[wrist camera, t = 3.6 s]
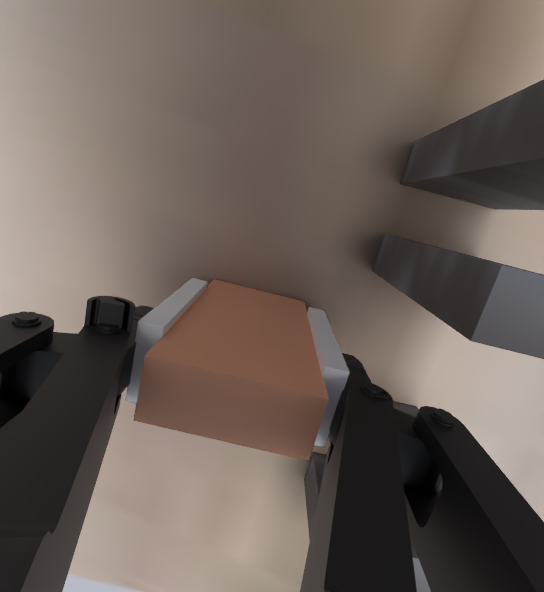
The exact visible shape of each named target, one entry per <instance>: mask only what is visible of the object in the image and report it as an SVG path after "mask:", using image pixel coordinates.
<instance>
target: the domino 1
mask: <svg viewBox="0 0 544 592" xmlns="http://www.w3.org/2000/svg"><path fill="white" fill-rule="evenodd" d="M328 400H329V398H328V394H327V390H326V386H325V382H324V378H323V377H322V374H321V370H320V365H319V361H318V357H317V353H316V349H315V345H314V341H313V337H312V332H311V328H310V324H309V320H308V316H307V310H306V306H305V302H304V301H300V300H296V299H292V298H288V297H284V296H280V295H276V294H272V293H268V292H264V291H260V290H256V289H252V288H248V287H244V286H240V285H236V284H232V283H228V282H224V281H220V280H216V279H214V280H213V281H212V282H211V283H210V284H209V285H208V286H207V288H206V289H205V291H204V292H203V293H202V294H201V295H200V296H199V297H198V298H197V299H196V300H195V302H194V303H193V304H192V305H191V306H190V307H189V308H188V309H187V310H186V312H185V313H184V314H183V315H182V316H181V317H180V318H179V319H178V320H177V322H176V323H175V324H174V325H173V326H172V327H171V328H170V329H169V330H168V331H167V333H166V334H165V335H164V336H163V337H162V338H160V339H159V340H158V341H157V342H156V344H155V345H154V346H153V347H152V348H151V349H150V350H149V351H148V352H147V353H146V355H145V357H144V363H143V369H142V375H141V381H140V386H139V392H138V398H137V404H136V409H135V415H134V421H138V422H143V423H147V424H151V425H156V426H160V427H164V428H169V429H173V430H177V431H182V432H186V433H190V434H195V435H199V436H203V437H208V438H212V439H216V440H221V441H225V442H229V443H234V444H238V445H242V446H247V447H251V448H255V449H260V450H264V451H268V452H273V453H277V454H281V455H286V456H290V457H294V458H298V459H303V460H307V461H309V459H310V456H311V453H312V450H313V446H314V443H315V440H316V437H317V434H318V431H319V428H320V425H321V422H322V419H323V416H324V413H325V410H326V406H327V403H328Z"/></svg>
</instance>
